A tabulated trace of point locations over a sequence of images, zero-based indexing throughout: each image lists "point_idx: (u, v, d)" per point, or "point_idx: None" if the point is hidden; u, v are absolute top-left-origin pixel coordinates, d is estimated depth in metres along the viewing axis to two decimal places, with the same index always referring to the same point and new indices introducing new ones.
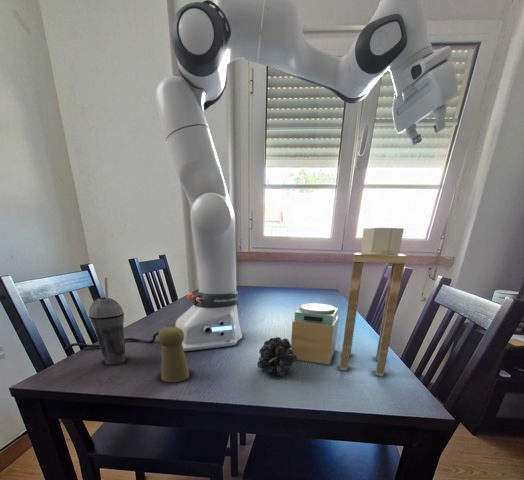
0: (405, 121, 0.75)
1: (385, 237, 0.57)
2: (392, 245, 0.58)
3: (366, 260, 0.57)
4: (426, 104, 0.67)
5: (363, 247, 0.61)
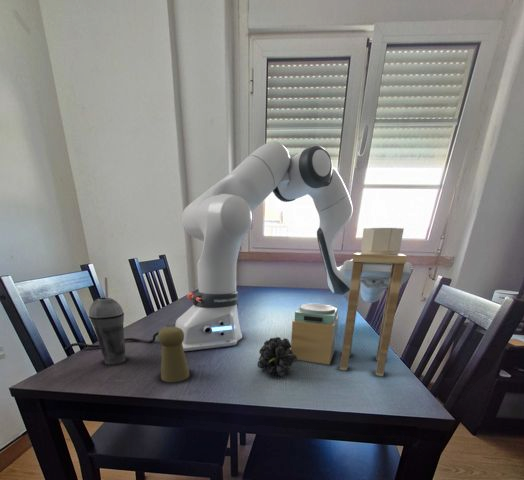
0: None
1: (385, 237, 0.57)
2: (392, 245, 0.58)
3: (366, 260, 0.57)
4: None
5: (363, 247, 0.61)
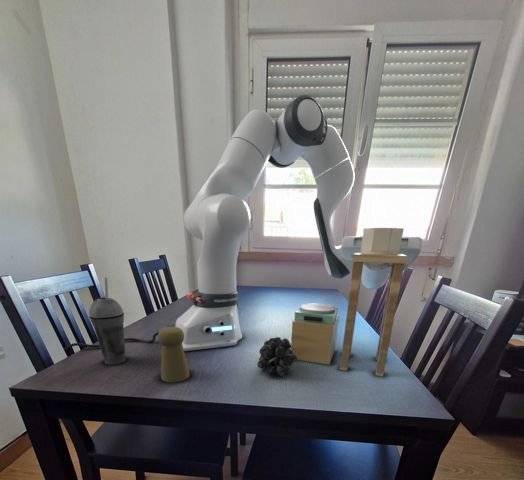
0: None
1: (385, 237, 0.57)
2: (392, 245, 0.58)
3: (366, 260, 0.57)
4: None
5: (363, 247, 0.61)
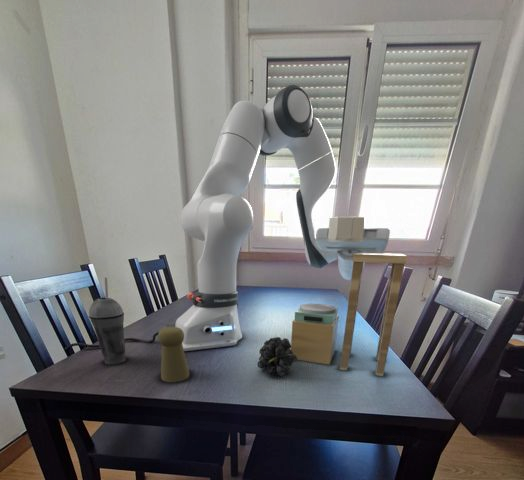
0: None
1: (348, 225, 0.62)
2: (354, 233, 0.63)
3: (366, 260, 0.57)
4: None
5: (329, 235, 0.66)
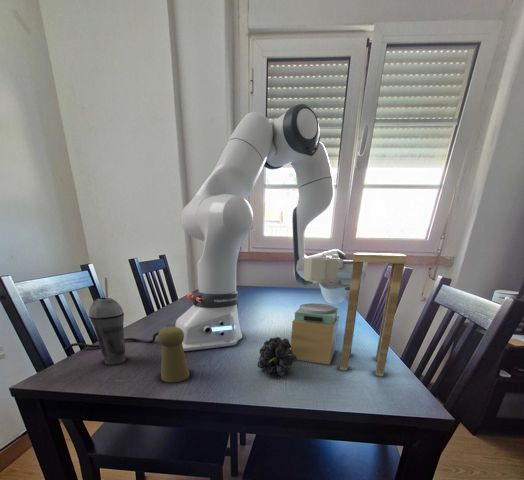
0: None
1: (321, 267, 0.64)
2: (328, 274, 0.64)
3: (366, 260, 0.57)
4: None
5: (305, 275, 0.67)
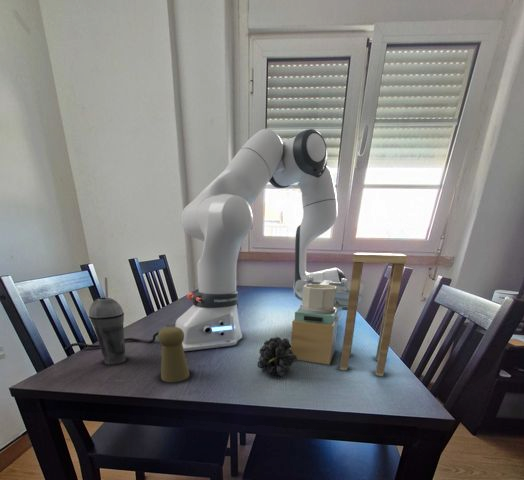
0: None
1: (319, 296, 0.66)
2: (325, 303, 0.66)
3: (366, 260, 0.57)
4: None
5: (303, 302, 0.69)
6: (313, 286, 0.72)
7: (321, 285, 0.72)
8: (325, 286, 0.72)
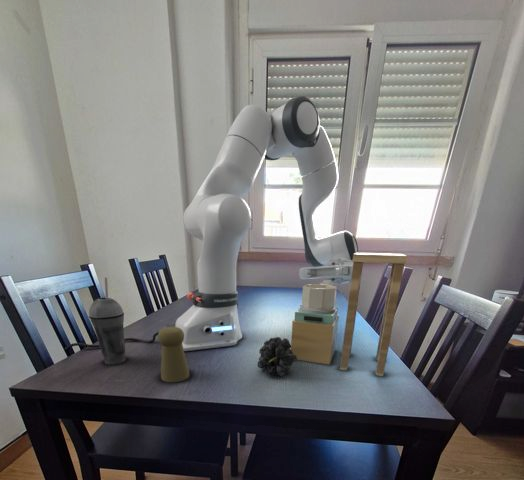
0: None
1: (319, 296, 0.66)
2: (325, 303, 0.66)
3: (366, 260, 0.57)
4: None
5: (303, 302, 0.69)
6: (313, 286, 0.72)
7: (321, 285, 0.72)
8: (325, 286, 0.72)
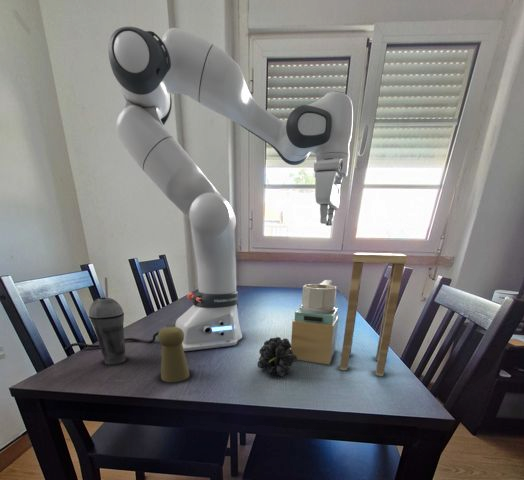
0: None
1: (319, 296, 0.66)
2: (325, 303, 0.66)
3: (366, 260, 0.57)
4: None
5: (303, 302, 0.69)
6: (313, 286, 0.72)
7: (321, 285, 0.72)
8: (325, 286, 0.72)
